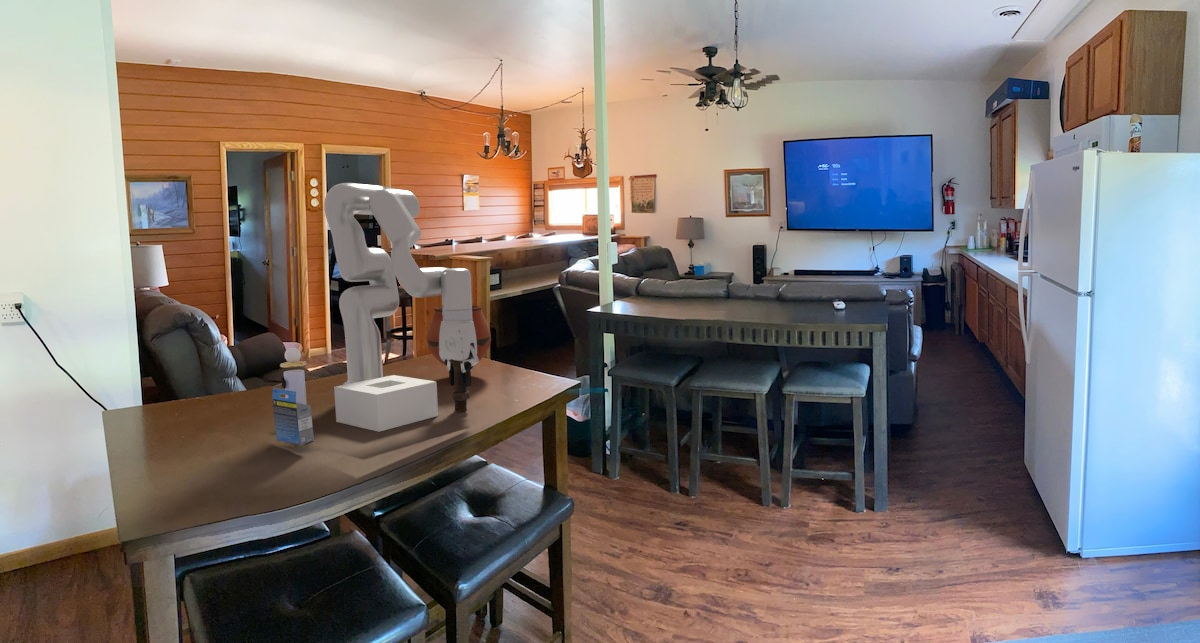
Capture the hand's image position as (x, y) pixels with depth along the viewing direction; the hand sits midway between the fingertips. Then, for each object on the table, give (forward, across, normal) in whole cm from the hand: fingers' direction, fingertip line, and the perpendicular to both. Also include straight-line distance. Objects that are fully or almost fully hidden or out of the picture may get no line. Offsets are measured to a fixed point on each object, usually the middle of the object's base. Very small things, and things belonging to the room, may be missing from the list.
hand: (460, 385), depth 181 cm
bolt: (+7, 0, 0) cm, 7 cm away
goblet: (+8, -25, +23) cm, 35 cm away
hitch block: (+7, -11, -15) cm, 20 cm away
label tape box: (+8, -12, -39) cm, 42 cm away
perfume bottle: (+8, -22, -33) cm, 40 cm away
